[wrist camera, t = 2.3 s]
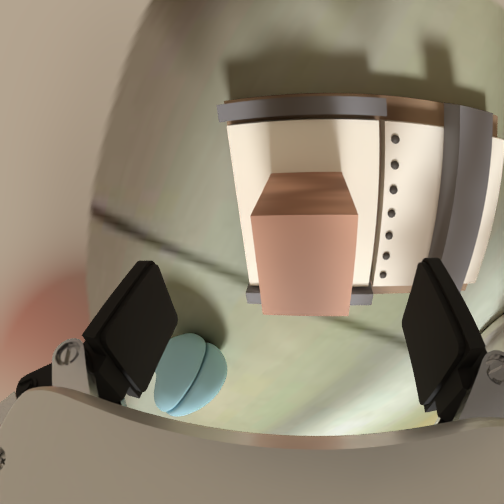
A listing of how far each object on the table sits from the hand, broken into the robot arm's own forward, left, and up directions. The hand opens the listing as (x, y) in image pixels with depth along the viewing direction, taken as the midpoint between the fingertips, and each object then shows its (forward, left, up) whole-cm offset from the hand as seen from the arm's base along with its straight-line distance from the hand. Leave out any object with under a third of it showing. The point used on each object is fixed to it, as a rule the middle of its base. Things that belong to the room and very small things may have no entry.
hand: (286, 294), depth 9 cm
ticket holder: (-5, 0, -11) cm, 12 cm away
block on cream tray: (-1, 0, -9) cm, 9 cm away
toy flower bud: (+12, +18, -11) cm, 25 cm away
